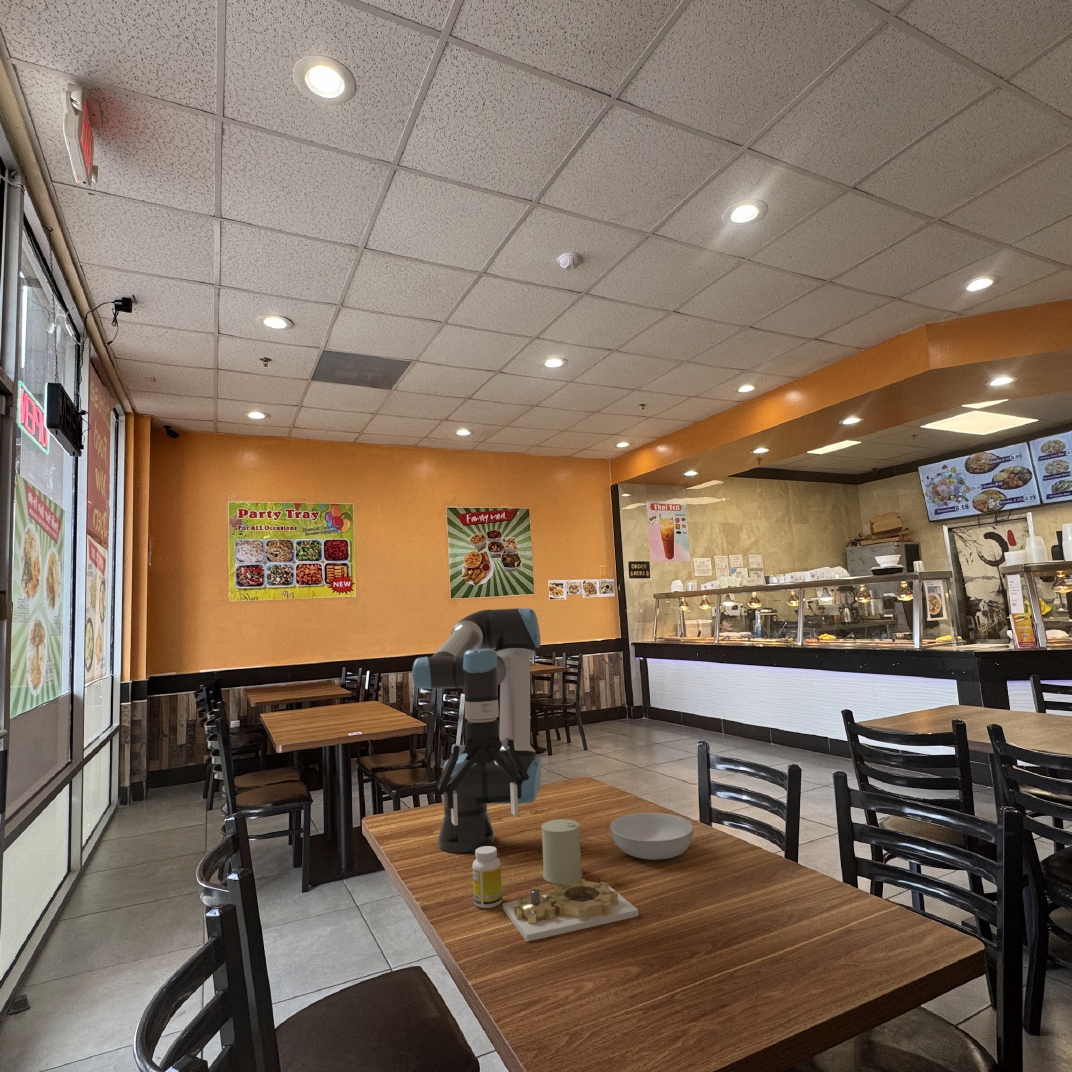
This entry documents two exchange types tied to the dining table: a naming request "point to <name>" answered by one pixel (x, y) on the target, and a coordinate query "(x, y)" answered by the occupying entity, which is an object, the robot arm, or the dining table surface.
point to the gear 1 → (535, 908)
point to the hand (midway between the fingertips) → (485, 819)
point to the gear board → (568, 920)
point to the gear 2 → (583, 899)
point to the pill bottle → (487, 878)
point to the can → (561, 851)
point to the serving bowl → (652, 835)
